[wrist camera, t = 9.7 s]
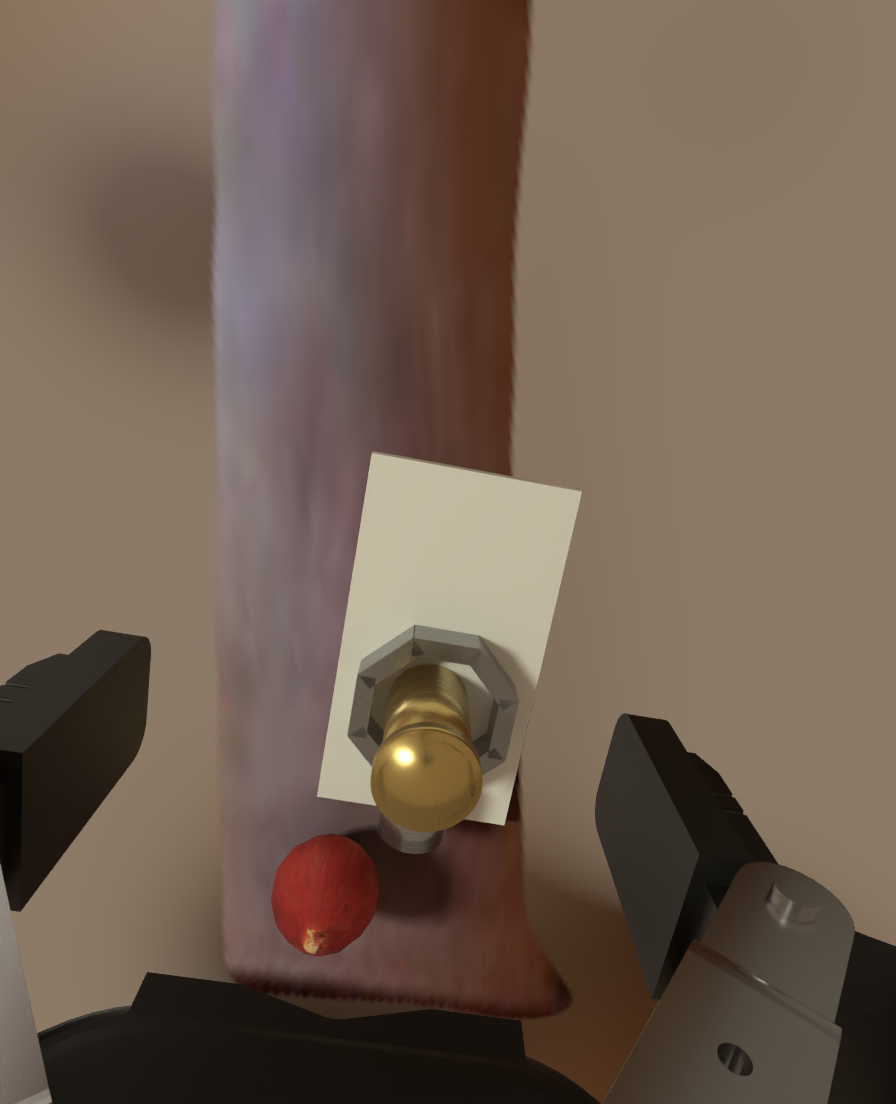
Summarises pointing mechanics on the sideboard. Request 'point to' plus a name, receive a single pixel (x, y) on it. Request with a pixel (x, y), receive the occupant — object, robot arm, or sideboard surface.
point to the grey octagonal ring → (443, 649)
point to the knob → (427, 752)
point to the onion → (325, 894)
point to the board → (450, 597)
